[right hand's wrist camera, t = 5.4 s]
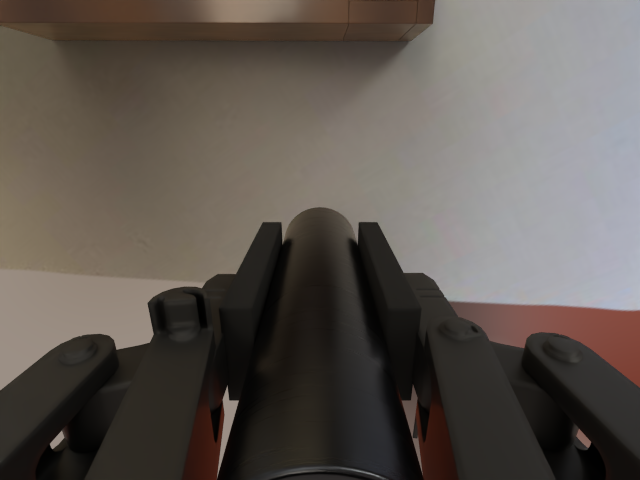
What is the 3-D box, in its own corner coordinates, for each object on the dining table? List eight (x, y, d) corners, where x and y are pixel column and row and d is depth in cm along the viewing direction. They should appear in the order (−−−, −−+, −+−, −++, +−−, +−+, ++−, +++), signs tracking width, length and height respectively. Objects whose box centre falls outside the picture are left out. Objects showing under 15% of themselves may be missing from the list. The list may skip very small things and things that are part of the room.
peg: (283, 206, 15) (184, 470, 4) (356, 206, 15) (456, 470, 4) (286, 272, 16) (214, 620, 5) (353, 272, 16) (426, 619, 5)
